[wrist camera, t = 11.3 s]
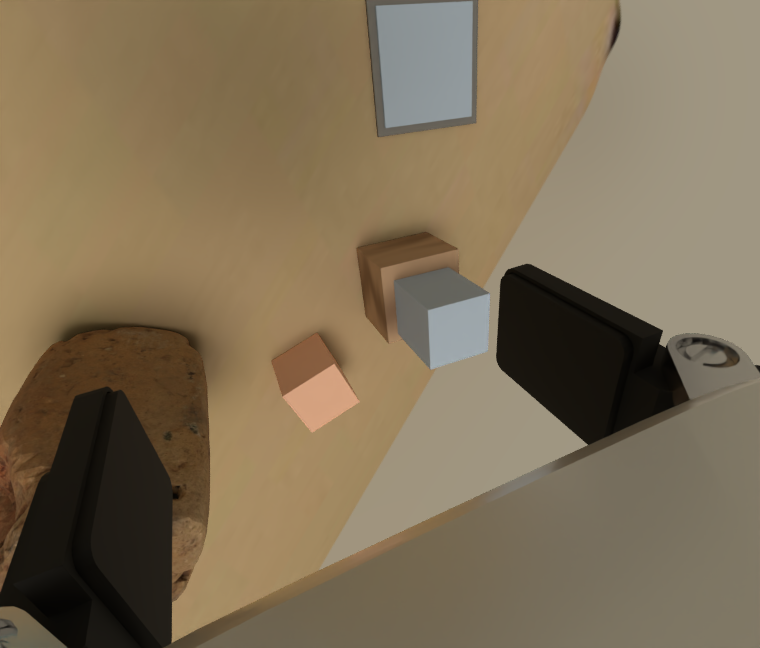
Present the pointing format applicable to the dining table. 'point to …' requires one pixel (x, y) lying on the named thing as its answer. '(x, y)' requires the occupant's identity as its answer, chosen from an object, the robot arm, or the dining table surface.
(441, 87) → the swatch
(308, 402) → the terracotta block
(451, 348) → the slate block
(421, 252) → the walnut block
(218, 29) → the dining table surface
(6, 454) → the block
